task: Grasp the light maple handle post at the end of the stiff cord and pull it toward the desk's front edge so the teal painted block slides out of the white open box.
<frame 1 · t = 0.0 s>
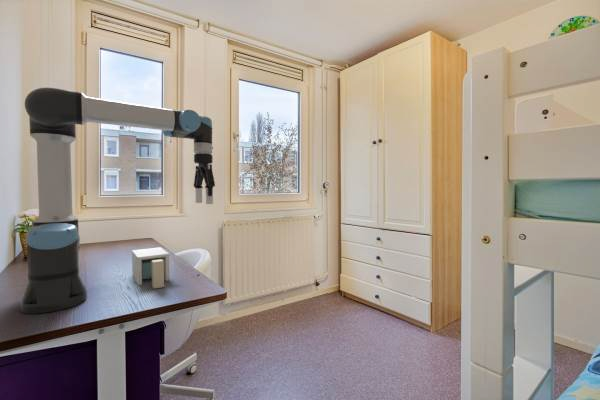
hand: (203, 203, 127), 28 cm above the table, fingers open, 13 cm apart
tethered block: (153, 268, 108), point 5 cm above the table, slide at 0.0 cm
white open box: (150, 278, 113), on the table
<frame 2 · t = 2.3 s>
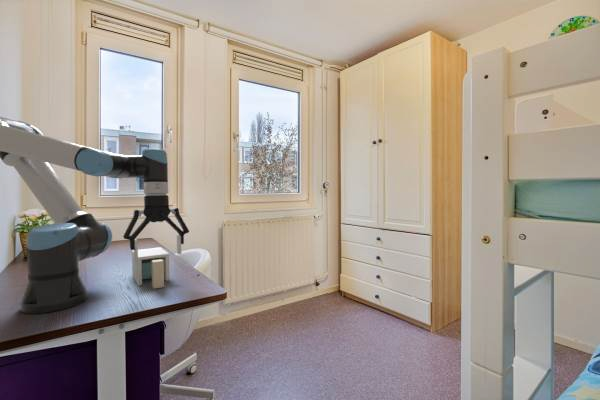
hand: (158, 256, 101), 11 cm above the table, fingers open, 13 cm apart
nothing on the table moved.
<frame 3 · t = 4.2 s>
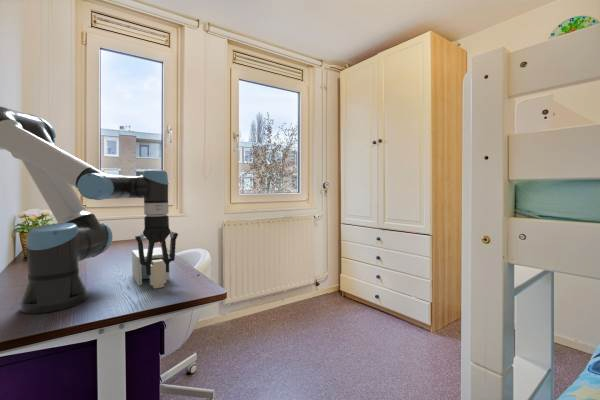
hand: (157, 282, 102), 2 cm above the table, fingers closed on tethered block, 3 cm apart
tethered block: (153, 268, 108), point 5 cm above the table, slide at 0.0 cm, touching gripper
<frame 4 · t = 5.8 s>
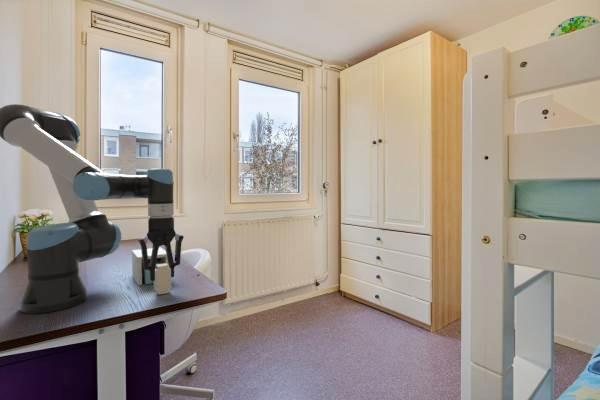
hand: (162, 288, 96), 2 cm above the table, fingers closed on tethered block, 3 cm apart
tethered block: (157, 272, 103), point 5 cm above the table, slide at 7.3 cm, touching gripper
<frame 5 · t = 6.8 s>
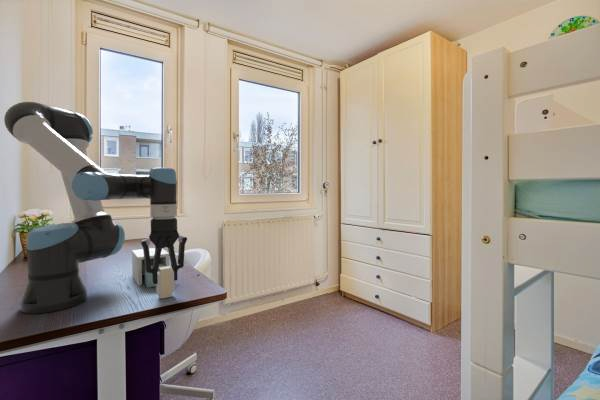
hand: (165, 292, 92), 2 cm above the table, fingers closed on tethered block, 3 cm apart
tethered block: (159, 275, 99), point 5 cm above the table, slide at 11.5 cm, touching gripper
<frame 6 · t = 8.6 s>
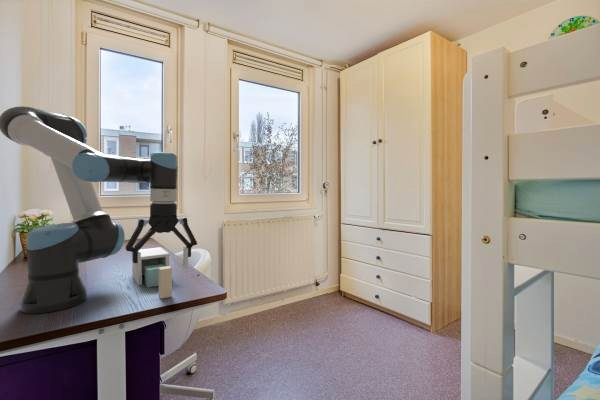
hand: (162, 270, 92), 8 cm above the table, fingers open, 13 cm apart
tethered block: (159, 275, 99), point 5 cm above the table, slide at 11.5 cm
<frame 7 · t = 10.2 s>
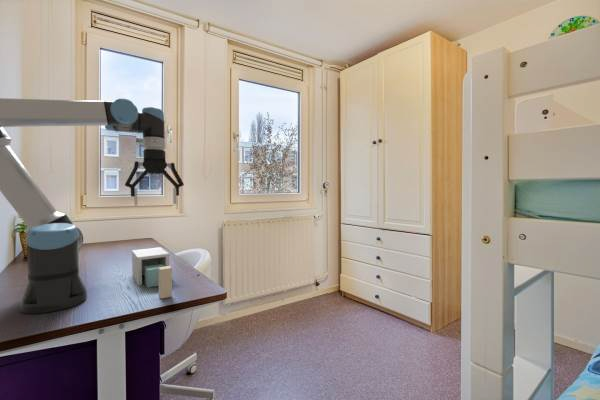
hand: (156, 204, 114), 28 cm above the table, fingers open, 13 cm apart
nothing on the table moved.
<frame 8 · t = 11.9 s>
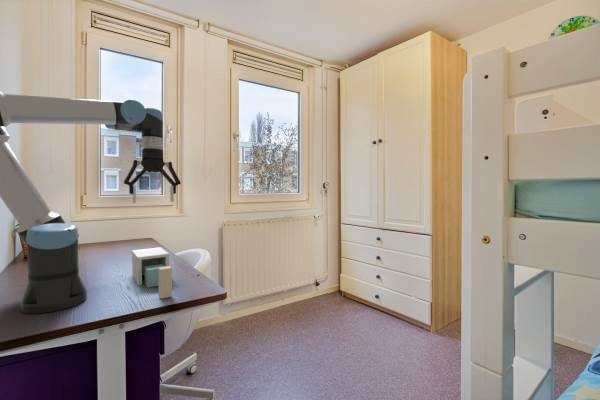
hand: (153, 202, 117), 29 cm above the table, fingers open, 13 cm apart
nothing on the table moved.
at the end: tethered block slide at 11.5 cm; the gripper is holding nothing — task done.
